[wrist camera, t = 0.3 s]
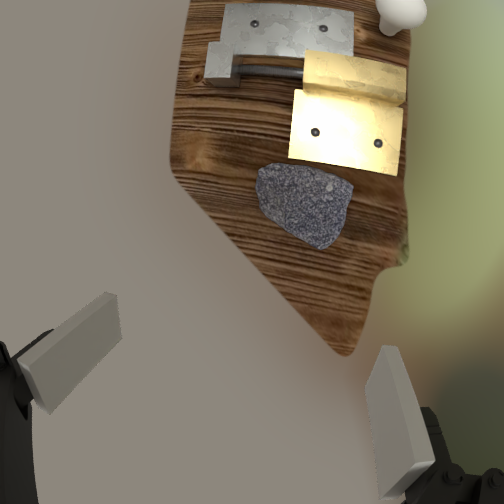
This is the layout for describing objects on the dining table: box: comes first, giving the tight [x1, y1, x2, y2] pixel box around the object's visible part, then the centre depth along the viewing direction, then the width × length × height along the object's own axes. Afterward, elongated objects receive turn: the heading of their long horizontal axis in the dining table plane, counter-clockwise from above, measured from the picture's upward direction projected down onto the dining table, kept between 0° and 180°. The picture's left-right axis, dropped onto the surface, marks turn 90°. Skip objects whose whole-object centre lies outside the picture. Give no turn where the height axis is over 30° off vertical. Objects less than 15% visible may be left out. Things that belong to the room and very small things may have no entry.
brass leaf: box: [288, 49, 406, 176], centre depth 31 cm, size 13×14×5 cm
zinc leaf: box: [204, 3, 354, 87], centre depth 29 cm, size 14×24×5 cm, turn 84°
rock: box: [255, 163, 354, 250], centre depth 36 cm, size 12×5×10 cm
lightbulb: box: [376, 0, 427, 36], centre depth 23 cm, size 6×6×11 cm
